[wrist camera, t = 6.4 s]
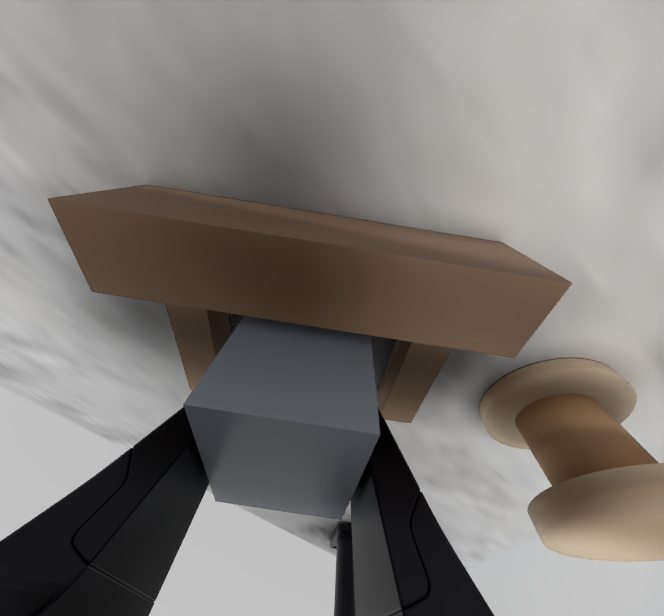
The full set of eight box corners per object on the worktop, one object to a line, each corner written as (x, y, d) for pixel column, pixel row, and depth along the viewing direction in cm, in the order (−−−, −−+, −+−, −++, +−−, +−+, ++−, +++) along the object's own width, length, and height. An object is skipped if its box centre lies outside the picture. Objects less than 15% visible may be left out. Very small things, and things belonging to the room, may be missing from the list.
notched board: (418, 398, 12) (435, 459, 10) (192, 363, 12) (151, 416, 10) (502, 243, 8) (572, 283, 5) (146, 185, 8) (47, 198, 5)
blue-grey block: (345, 407, 11) (341, 520, 7) (258, 394, 11) (215, 501, 7) (369, 319, 8) (380, 434, 5) (253, 301, 8) (183, 404, 5)
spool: (562, 441, 14) (656, 569, 9) (459, 425, 14) (507, 547, 9) (654, 369, 10) (860, 516, 6) (519, 348, 10) (634, 482, 6)
